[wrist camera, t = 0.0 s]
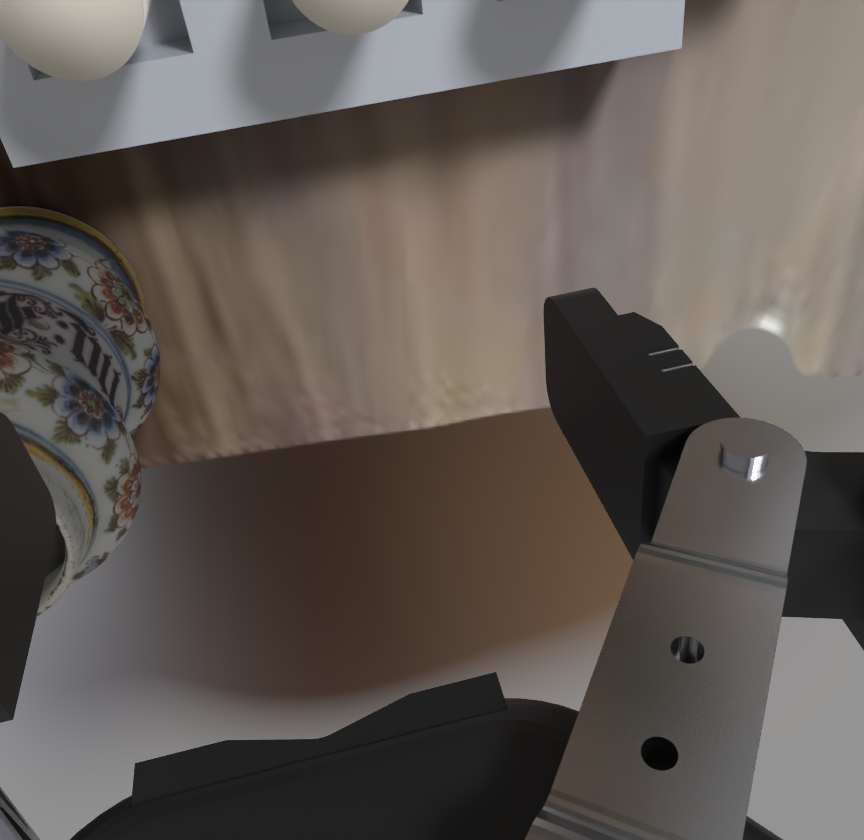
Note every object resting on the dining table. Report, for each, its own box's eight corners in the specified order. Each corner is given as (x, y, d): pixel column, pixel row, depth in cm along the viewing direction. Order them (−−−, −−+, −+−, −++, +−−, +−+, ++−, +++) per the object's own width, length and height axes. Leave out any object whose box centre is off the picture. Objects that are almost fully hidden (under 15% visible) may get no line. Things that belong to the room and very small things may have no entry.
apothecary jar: (-109, 157, 36) (-324, 382, 22) (178, 209, 40) (155, 429, 25) (-90, 385, 42) (-248, 675, 28) (155, 410, 46) (126, 676, 32)
